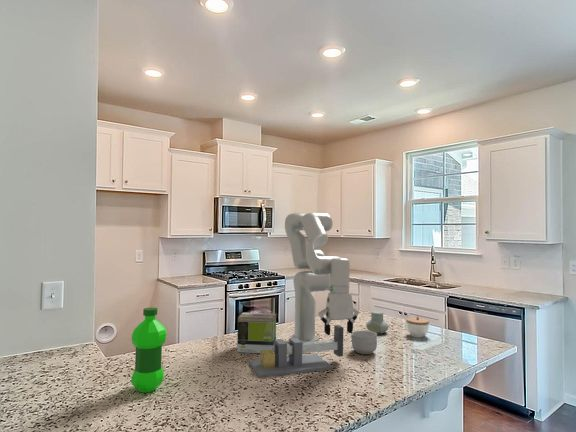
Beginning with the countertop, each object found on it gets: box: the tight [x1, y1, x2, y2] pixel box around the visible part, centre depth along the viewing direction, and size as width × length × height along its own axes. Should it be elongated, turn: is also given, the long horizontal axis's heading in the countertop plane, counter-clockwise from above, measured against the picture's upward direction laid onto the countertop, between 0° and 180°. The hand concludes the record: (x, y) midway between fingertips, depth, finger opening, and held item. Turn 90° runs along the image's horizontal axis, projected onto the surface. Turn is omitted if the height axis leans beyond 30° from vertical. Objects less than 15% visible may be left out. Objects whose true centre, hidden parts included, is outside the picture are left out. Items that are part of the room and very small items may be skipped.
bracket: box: [248, 337, 333, 378], centre depth 142 cm, size 14×28×10 cm, turn 110°
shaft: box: [287, 324, 344, 357], centre depth 145 cm, size 4×24×11 cm, turn 110°
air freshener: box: [365, 310, 389, 335], centre depth 193 cm, size 11×8×10 cm
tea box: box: [236, 312, 277, 354], centre depth 161 cm, size 15×10×15 cm, turn 84°
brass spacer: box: [259, 350, 275, 369], centre depth 139 cm, size 5×5×4 cm
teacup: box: [350, 329, 378, 355], centre depth 162 cm, size 14×11×8 cm
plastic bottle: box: [130, 306, 167, 393], centre depth 120 cm, size 10×10×25 cm
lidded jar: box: [405, 316, 430, 338], centre depth 188 cm, size 11×11×9 cm
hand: (338, 333), depth 149 cm, fingers open, 9 cm apart
